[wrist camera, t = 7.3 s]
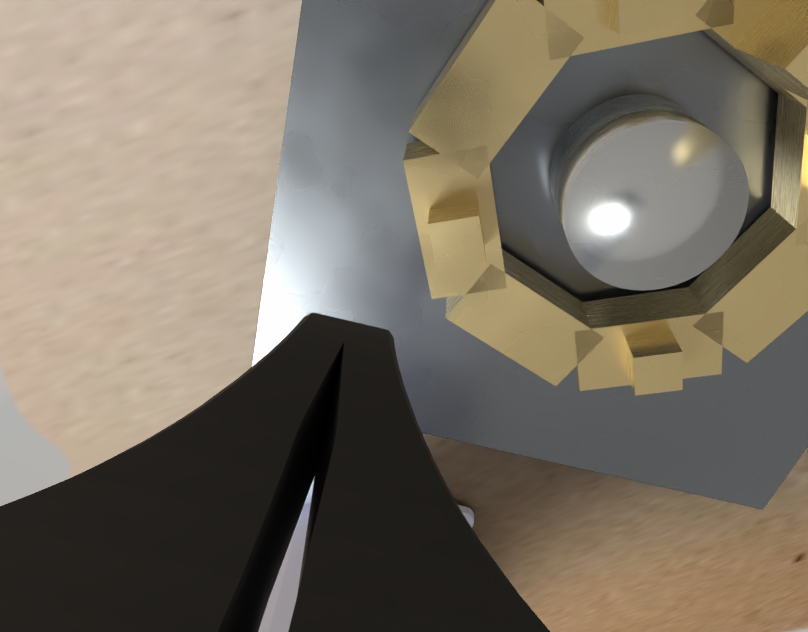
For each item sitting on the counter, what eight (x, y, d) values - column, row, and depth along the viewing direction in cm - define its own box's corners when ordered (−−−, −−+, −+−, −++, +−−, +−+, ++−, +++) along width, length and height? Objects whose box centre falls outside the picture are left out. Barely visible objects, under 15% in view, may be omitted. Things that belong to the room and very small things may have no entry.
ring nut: (639, 413, 21) (675, 508, 17) (340, 225, 18) (312, 293, 15) (1140, -38, 14) (1362, -28, 11) (773, -432, 12) (907, -585, 8)
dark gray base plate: (749, 484, 24) (798, 577, 20) (257, 372, 23) (222, 450, 19) (1212, -193, 14) (1461, -234, 10) (374, -441, 13) (343, -579, 9)
